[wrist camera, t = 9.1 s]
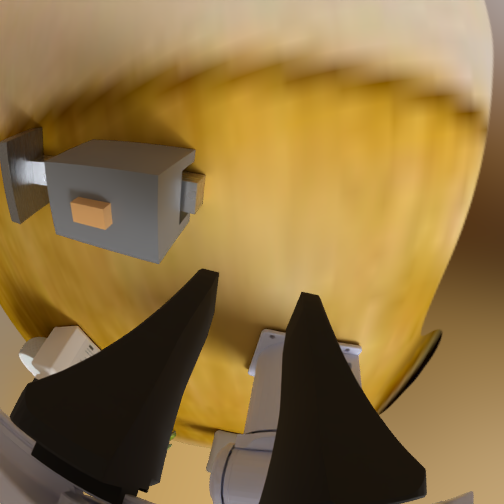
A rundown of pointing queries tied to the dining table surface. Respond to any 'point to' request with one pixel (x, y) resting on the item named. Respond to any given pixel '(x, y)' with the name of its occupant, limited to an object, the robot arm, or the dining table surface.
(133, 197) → the block
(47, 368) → the container
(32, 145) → the rail
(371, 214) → the dining table surface
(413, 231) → the dining table surface
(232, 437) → the electrical switch
